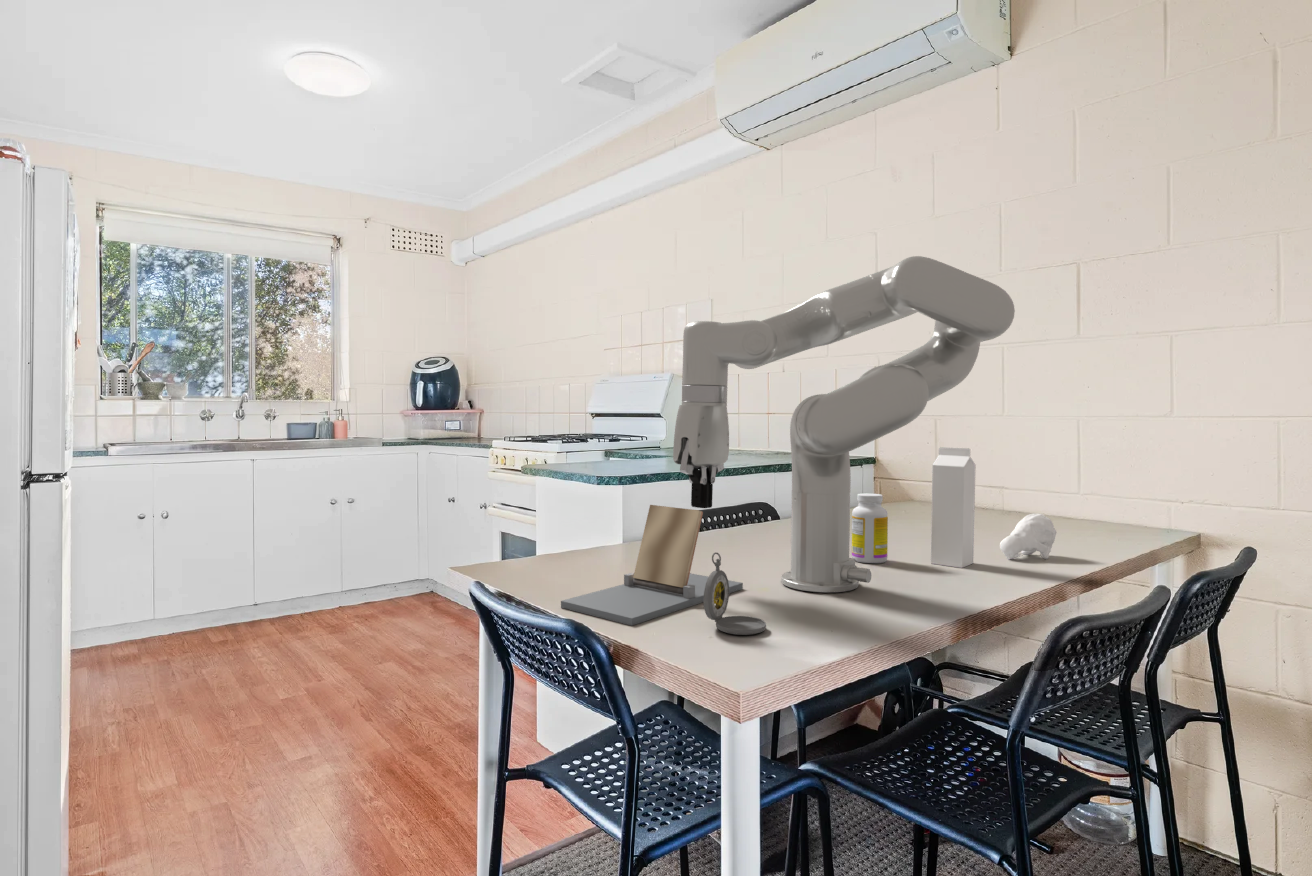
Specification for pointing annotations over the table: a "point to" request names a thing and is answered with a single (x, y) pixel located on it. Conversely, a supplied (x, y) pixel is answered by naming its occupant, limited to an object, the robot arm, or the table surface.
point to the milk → (953, 508)
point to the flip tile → (667, 548)
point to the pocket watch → (731, 624)
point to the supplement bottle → (869, 529)
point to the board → (640, 600)
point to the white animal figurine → (1030, 537)
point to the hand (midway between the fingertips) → (701, 506)
